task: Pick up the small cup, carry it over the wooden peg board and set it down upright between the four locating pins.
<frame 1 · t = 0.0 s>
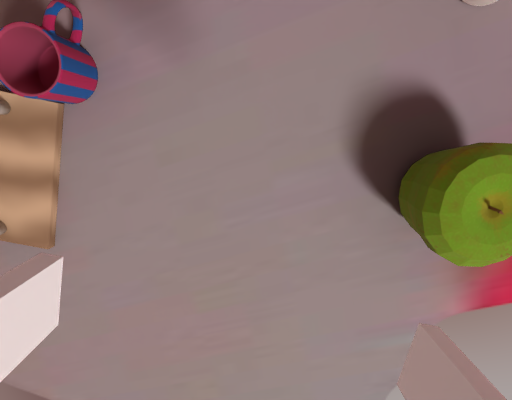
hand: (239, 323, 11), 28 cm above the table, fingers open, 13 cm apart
apple: (433, 189, 39), on the table
cup: (77, 61, 36), on the table
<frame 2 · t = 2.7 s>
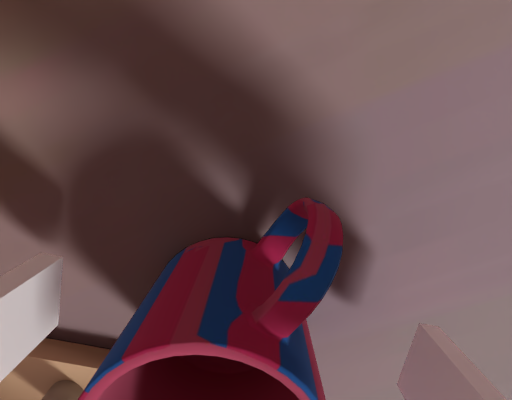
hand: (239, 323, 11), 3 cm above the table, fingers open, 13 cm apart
cup: (249, 276, 14), on the table
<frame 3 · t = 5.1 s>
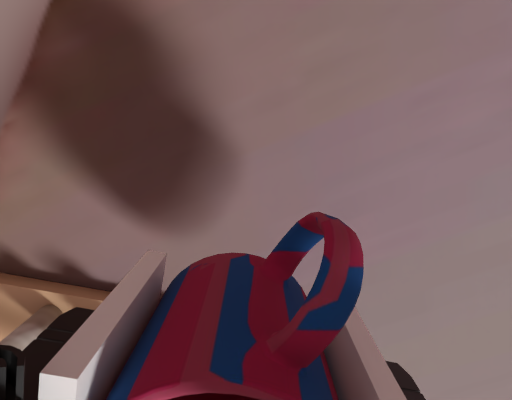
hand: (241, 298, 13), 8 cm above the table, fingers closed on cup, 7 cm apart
cup: (256, 292, 14), point 7 cm above the table, touching gripper
wooden peg board: (81, 399, 23), on the table
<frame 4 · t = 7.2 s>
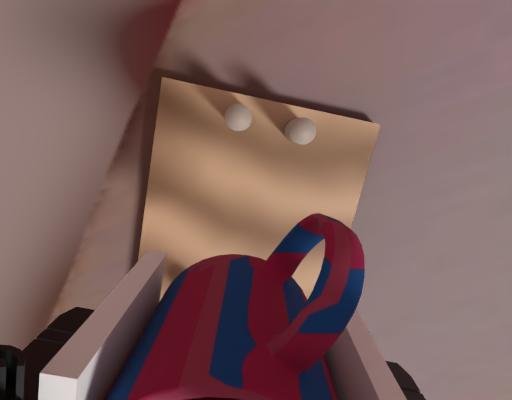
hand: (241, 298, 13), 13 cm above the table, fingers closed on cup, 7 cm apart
cup: (256, 294, 14), point 12 cm above the table, touching gripper
wooden peg board: (248, 215, 25), on the table
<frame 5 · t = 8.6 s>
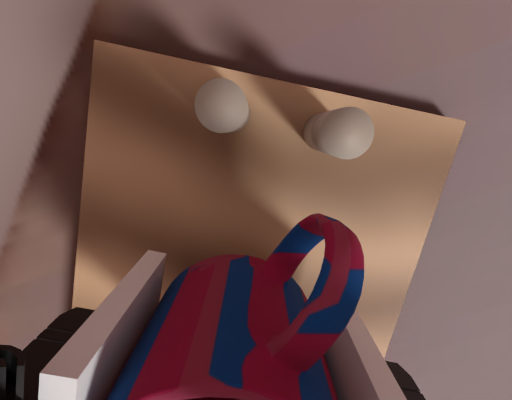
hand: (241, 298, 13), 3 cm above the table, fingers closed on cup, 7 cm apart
cup: (256, 294, 14), point 3 cm above the table, touching gripper
wooden peg board: (244, 264, 16), on the table
when the fingers open (2 cm above the table, at t = 9.8 s): cup stays where it is, resting on wooden peg board.
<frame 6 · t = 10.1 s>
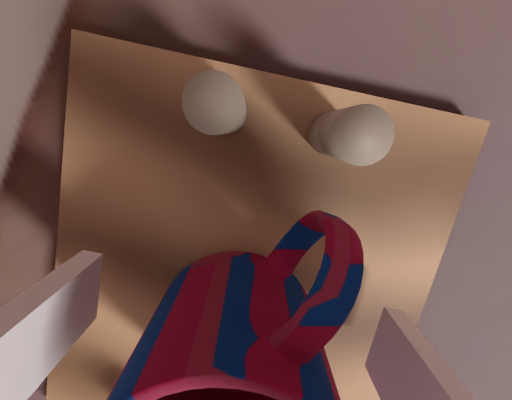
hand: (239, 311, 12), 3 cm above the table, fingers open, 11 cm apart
cup: (257, 290, 14), point 1 cm above the table, touching wooden peg board
wooden peg board: (242, 279, 15), on the table
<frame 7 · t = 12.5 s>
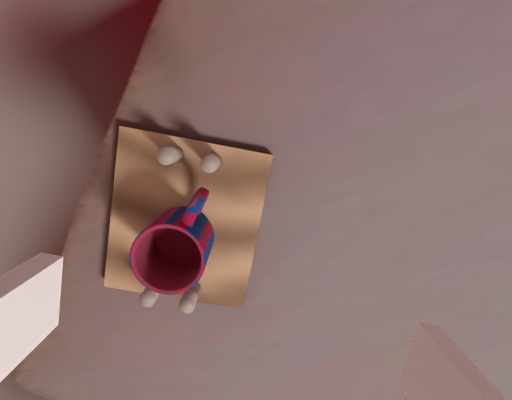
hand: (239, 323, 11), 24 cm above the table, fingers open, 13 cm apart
cup: (192, 223, 34), point 1 cm above the table, touching wooden peg board
wooden peg board: (187, 220, 35), on the table
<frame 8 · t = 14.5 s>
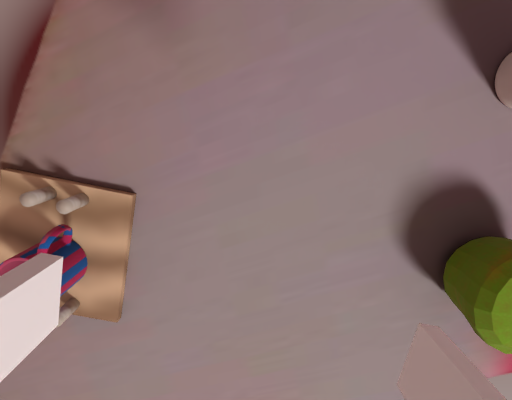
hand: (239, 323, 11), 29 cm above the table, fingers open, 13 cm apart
apple: (474, 267, 42), on the table
cup: (68, 250, 40), point 1 cm above the table, touching wooden peg board
wooden peg board: (67, 247, 41), on the table
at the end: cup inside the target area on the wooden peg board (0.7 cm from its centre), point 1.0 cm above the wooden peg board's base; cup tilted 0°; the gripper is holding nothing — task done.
